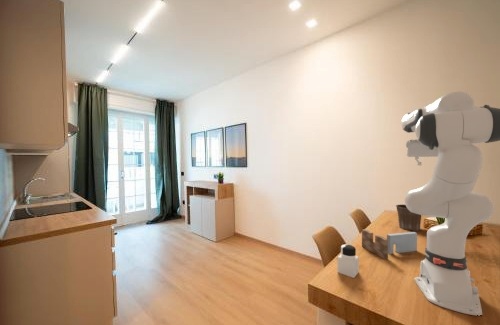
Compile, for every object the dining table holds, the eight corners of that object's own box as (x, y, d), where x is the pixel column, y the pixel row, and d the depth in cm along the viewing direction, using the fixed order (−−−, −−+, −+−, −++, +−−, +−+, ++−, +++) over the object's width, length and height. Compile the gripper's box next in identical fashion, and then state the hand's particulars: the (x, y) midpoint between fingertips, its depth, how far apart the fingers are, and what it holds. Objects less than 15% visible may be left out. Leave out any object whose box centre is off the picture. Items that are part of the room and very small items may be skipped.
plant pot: (390, 226, 158) (390, 205, 158) (403, 223, 165) (403, 203, 165) (415, 233, 144) (415, 210, 144) (428, 230, 151) (428, 207, 150)
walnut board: (387, 258, 107) (388, 239, 107) (384, 259, 107) (384, 239, 107) (364, 246, 123) (364, 229, 123) (361, 246, 123) (361, 229, 123)
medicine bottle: (359, 272, 95) (359, 245, 95) (354, 278, 90) (354, 250, 90) (342, 266, 100) (342, 241, 100) (337, 272, 95) (337, 246, 94)
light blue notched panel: (389, 254, 113) (390, 235, 113) (386, 252, 115) (386, 234, 115) (416, 250, 116) (417, 233, 116) (413, 249, 118) (413, 231, 118)
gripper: (406, 139, 111) (406, 165, 111) (460, 137, 100) (459, 165, 100) (405, 140, 116) (405, 165, 116) (456, 138, 105) (456, 165, 105)
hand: (431, 165), depth 108 cm, fingers open, 8 cm apart
